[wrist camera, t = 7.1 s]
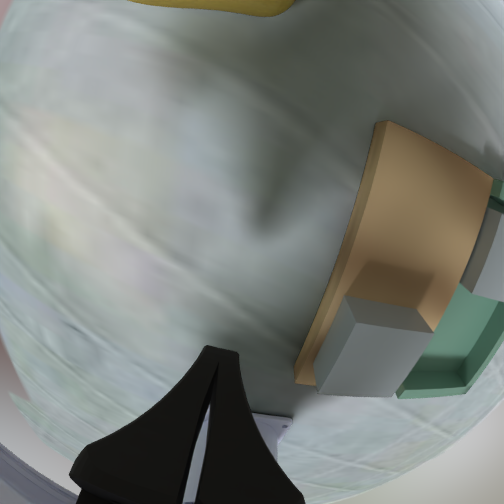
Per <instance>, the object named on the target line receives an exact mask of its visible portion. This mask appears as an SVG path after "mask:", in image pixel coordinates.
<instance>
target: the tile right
mask: <svg viewBox="0 0 504 504" xmlns="http://www.w3.org/2000/svg"><path fill="white" fill-rule="evenodd" d="M459 283H460V284H461V285H463V286H464V287H465V288H466V289H467V290H468V291H469V292H470V293H471V294H475V295H478V296H482V297H486V298H490V299H494V300H497V301H501V302H504V214H502V213H500V212H498V211H495V210H493V209H490V208H488V207H487V208H486V211H485V214H484V218H483V221H482V224H481V227H480V230H479V233H478V236H477V239H476V242H475V245H474V247H473V250H472V253H471V255H470V258H469V260H468V263H467V265H466V268H465V270H464V272H463V275H462V277H461V279H460V281H459Z"/></svg>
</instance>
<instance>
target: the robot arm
mask: <svg viewBox="0 0 504 504" xmlns="http://www.w3.org/2000/svg"><path fill="white" fill-rule="evenodd" d="M210 401H211V402H210ZM291 425H292V419H291V418H287V417H278V416H271V415H263V414H257V413H251V410H250V407H249V404H248V401H247V398H246V394H245V390H244V387H243V382H242V378H241V372H240V365H239V354H238V353H237V352H235V351H230V350H226V349H222V348H217V347H213V346H209V345H206V346H204V348H203V350H202V352H201V353H200V355H199V357H198V358H197V360H196V361H195V362H194V364H193V365H192V367H191V368H190V369H189V370H188V371H187V373H186V374H185V375H184V376H183V378H182V379H181V380H180V381H179V382H178V383H177V384H176V385H175V386H174V387H173V388H172V389H171V390H170V391H169V392H168V393H167V394H166V395H165V396H164V397H163V398H162V399H161V400H160V401H159V402H158V403H156V404H155V405H154V406H153V407H152V408H150V409H149V410H148V411H146V412H145V413H144V414H142V415H141V416H140V417H138V418H137V419H135V420H134V421H132V422H131V423H129V424H128V425H126V426H124V427H122V428H121V429H119V430H117V431H116V432H114V433H112V434H110V435H108V436H106V437H104V438H102V439H100V440H97V441H95V442H93V443H91V444H88V445H87V446H86V447H85V448H84V449H83V450H82V451H81V453H80V454H79V455H78V457H77V458H76V460H75V462H74V464H73V466H72V468H71V471H70V473H69V476H70V478H71V479H72V480H73V481H74V482H75V483H76V484H77V485H78V486H79V487H80V488H81V492H80V494H79V496H78V495H76V494H74V493H72V492H71V491H69V490H67V489H65V488H63V487H62V486H60V485H58V484H57V483H55V482H53V481H52V480H50V479H49V478H47V477H45V476H44V475H42V474H41V473H39V472H38V471H36V470H35V469H34V468H32V467H31V466H29V465H28V464H26V463H25V462H24V461H22V460H21V459H20V458H18V457H17V456H16V455H15V454H13V453H12V452H11V451H10V450H8V449H7V448H6V447H5V446H3V445H2V444H1V443H0V504H305V500H304V497H303V495H302V493H301V492H300V491H299V490H298V489H297V488H296V487H295V485H294V484H293V483H292V482H291V481H290V479H289V478H288V477H287V476H286V474H285V473H284V471H283V470H282V469H281V467H280V466H279V465H278V463H277V446H278V444H279V443H280V441H281V440H282V438H283V437H284V436H285V434H286V433H287V431H288V430H289V428H290V427H291Z"/></svg>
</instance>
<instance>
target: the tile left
mask: <svg viewBox="0 0 504 504" xmlns="http://www.w3.org/2000/svg"><path fill="white" fill-rule="evenodd" d="M434 334H435V333H434V332H433V331H432V329H431V328H430V327H429V325H428V324H427V323H426V321H425V320H424V319H423V317H422V316H421V315H420V313H419V312H418V311H417V309H413V308H408V307H402V306H397V305H392V304H387V303H381V302H376V301H371V300H366V299H361V298H356V297H351V296H346V295H344V296H343V299H342V301H341V304H340V306H339V308H338V311H337V313H336V315H335V317H334V320H333V322H332V324H331V326H330V329H329V331H328V333H327V335H326V337H325V340H324V342H323V344H322V346H321V348H320V350H319V352H318V354H317V356H316V358H315V360H314V362H313V368H314V374H315V381H316V387H317V394H324V395H337V396H353V397H392V396H393V394H394V393H395V392H396V390H397V389H398V388H399V386H400V385H401V384H402V382H403V381H404V380H405V378H406V377H407V376H408V374H409V373H410V371H411V370H412V368H413V367H414V365H415V364H416V363H417V361H418V360H419V358H420V356H421V355H422V353H423V352H424V350H425V349H426V347H427V345H428V344H429V342H430V341H431V339H432V337H433V336H434Z"/></svg>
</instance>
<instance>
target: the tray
mask: <svg viewBox="0 0 504 504" xmlns="http://www.w3.org/2000/svg"><path fill="white" fill-rule="evenodd" d="M487 207H488V208H490V209H493V210H495V211H498V212H500V213H502V214H504V182H503V181H500V180H497V179H494V180H493V184H492V188H491V192H490V196H489V200H488V204H487ZM434 333H435V334H434V336H433V337H432V339H431V341H430V342H429V344H428V345H427V347H426V349H425V350H424V352H423V353H422V355H421V356H420V358H419V360H418V361H417V363H416V364H415V365H414V367H413V368H412V370H411V371H410V373H409V374H408V376H407V377H406V378H405V380H404V381H403V382H402V384H401V385H400V386H399V388H398V389H397V390H396V392H395V393H396V395H397V398H398V399H411V398H430V397H442V396H452V395H461V394H466V393H467V392H468V390H469V389H470V388H471V387H472V385H473V384H474V383H475V381H476V380H477V379H478V377H479V376H480V375H481V373H482V372H483V371H484V369H485V368H486V366H487V365H488V364H489V362H490V361H491V359H492V358H493V356H494V355H495V353H496V352H497V350H498V348H499V347H500V345H501V344H502V342H503V340H504V302H501V301H497V300H494V299H490V298H486V297H482V296H478V295H475V294H471V293H470V292H469V291H468V290H467V289H466V288H465V287H464V286H463V285H461V284H460V283H459V284H458V286H457V288H456V290H455V292H454V294H453V296H452V298H451V300H450V302H449V304H448V306H447V308H446V310H445V312H444V314H443V316H442V318H441V319H440V321H439V323H438V325H437V327H436V328H435V330H434Z"/></svg>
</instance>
